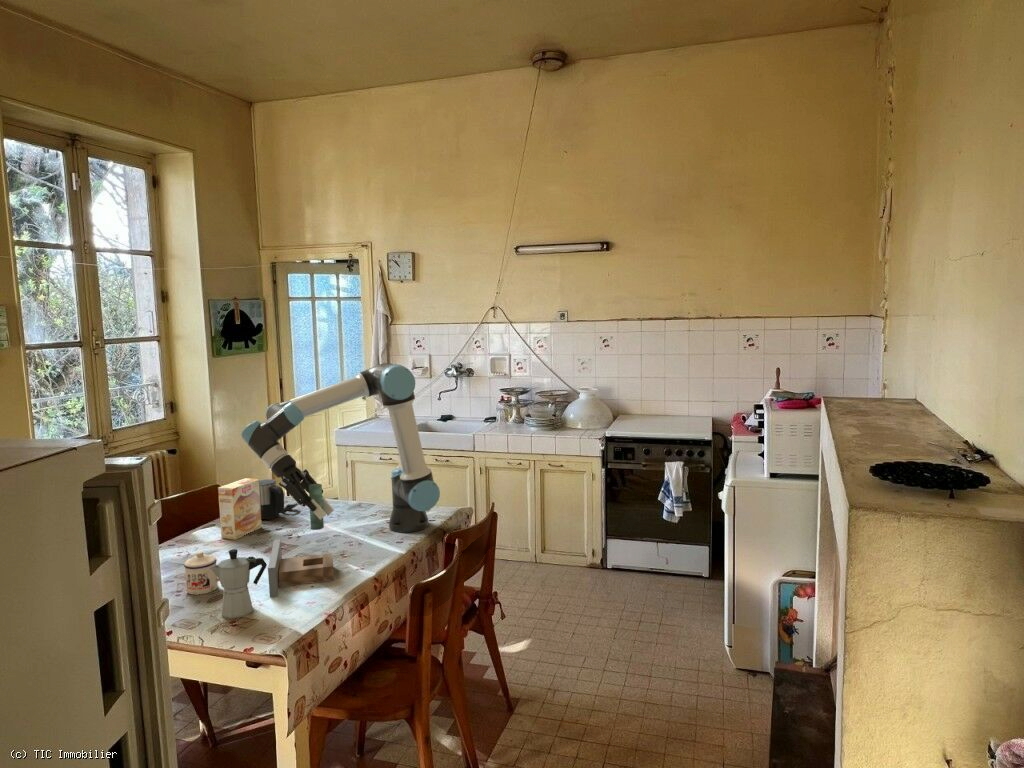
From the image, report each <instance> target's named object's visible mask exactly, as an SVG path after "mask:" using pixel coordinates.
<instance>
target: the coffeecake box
mask: <svg viewBox="0 0 1024 768" xmlns="http://www.w3.org/2000/svg"><path fill="white" fill-rule="evenodd" d="M259 480H260V479H259V478H249V477H248V478H246V477H245V478H242V479H239V480H236V481H234V482H231V483H228V484H224V485H222V486H218V487H217V491H218V492H217V493H218V505H219V506H218V507H219V520H220V521H219V523H220V535H221V539H228V540H234V541H235V540H238V539H240V538H242V537H245V536H247V535H248V533H249V534H251V533H252V532H255V531H258V530H259V529H261V527H263V525H262V520H261V508H260V492H259ZM254 530H255V531H254ZM250 532H251V533H250ZM246 534H247V535H246ZM244 535H245V536H244Z"/></svg>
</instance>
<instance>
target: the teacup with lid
mask: <svg viewBox="0 0 1024 768" xmlns="http://www.w3.org/2000/svg"><path fill="white" fill-rule="evenodd" d="M217 562H218V560H217V558H216V556H214V555H210V554H205V553H204V552H203V551H198V552H197V551H196V553H195V555H194V556H193V557H190V558H188V559H187V560H186V561H185V562H184V564H183V567H184V571H185V572H184V573H185V584H186V592H187V593H188V595H193V594H194V595H196V596H197V595H199V594H200V595H205V594H208V593H212V592H213V590H214V591H215V590H216V589H218V587H219V583H218V582H220V580H219V578H218V577H217V576H216V574H215V573H214V572H213V571H212V570H211V569H209V568H211V567H213V566H216V565H217ZM194 595H193V596H194Z"/></svg>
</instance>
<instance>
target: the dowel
mask: <svg viewBox="0 0 1024 768" xmlns="http://www.w3.org/2000/svg"><path fill="white" fill-rule="evenodd" d="M322 490H323V484H322V483H317V484H311V485H309V493H308V496H309V497H310V499H311V500H312V499H314V500H315V502H316V503H317V504H318V505H319V506H320V507H321V508H322V509H323V500H322V496H323V494H322ZM309 514H310V515H309V516H310V520H309V521H310V530H313V531H317V530H318V531H319V530H322V529H324V527H325V524H324V523H325V522H324V517H323V518H322V519H321V520H320V519H319V518H318V517H317V516H316V515H315V514H314V512H313V511H311V510H310V509H309Z"/></svg>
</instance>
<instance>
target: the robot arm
mask: <svg viewBox="0 0 1024 768" xmlns="http://www.w3.org/2000/svg"><path fill="white" fill-rule="evenodd" d="M415 388H416V378H415V375H414V374H413V372H412V371H411V370H410V369H409V368H407V367H405V366H404V365H401V364H394V363H390V362H383V363H380V364H376V365H375V366H373V367H370V368H367V369H366V370H363V371H360V372H358V373H357V374H356V376H354V377H351V378H348V379H346V380H343V381H340V382H337V383H333V384H332V385H328V386H326V387H323V388H320V389H316V390H314V391H311V392H309V393H305V394H303V395H300V396H297V397H294V398H291V399H289V400H286V401H283V402H275V403H272V404H270V405H269V406H268V407H267V408H266V411H265V418H266V420H264V422H260V421H259V420H254V421H252V422H250V423H249V424H248V425H246V426H245V427H244V428H243V430H242V431H241V434H240V435H241V438H242V440H243V441H245V443H246V444H247V445H248V447H249V448H250V449H251V450H252V451H253V452H254V454H255V455H256V456H258V458H259V459H260V460H261V462H263V463H264V464H265V466H266V467H267V468H268V469H270V471H271V472H272V473H273V474H274V476H275V477H276V478H277V479H278V478H280V479H281V481H279V483H278V486H280V487H281V488H282V489H284V490H285V491H286V492H287V493H288V494H289V495H290V496H291V498H293V499H294V500H295V501H296V503H297V505H299V506H302V507H308V509H309V511H310V510H311V511H313V512H314V514H315V515H316V516H317V517H318V518H319V519H320V520H321V519H322V518H323V519H324V517H325V516H330V515H331V514H332V513H333V511H334V510H335V509H334V507H333V506H332V505H331V504H330V503H329V502H328V501H327V500H326V498H325V497H324V496H323V494H324V490H323V489H322V500H323V509H322V508H321V507H320V506H319V505H318V504H317V503H316V502H315V500H314V499H312V500H311V499H310V497H309V485H311V484H318V483H317V481H316V480H315V479H314V478H313V477H312V476H311V474H310V472H309V471H308V469H306V468H305V469H304V470H301V469H299V468H298V467H297V462H296V460H295V459H294V458H293V457H292V455H290V454H289V452H288V451H286V449H285V448H284V447H283V445H281V443H280V442H279V440H280V439H282V438H283V437H284V436H286V435H287V434H288V433H290V432H291V431H292V430H293V429H294V428H296V427H297V426H299V425H300V423H302V422H303V421H304V420H305V418H306V417H309V416H312V415H315V414H317V413H319V412H323V411H326V410H328V409H331V408H334V407H336V406H340V405H343V404H346V403H347V402H351V401H353V400H356V399H359V398H361V397H365V398H370V397H374V396H378V395H380V398H381V403H382V406H383V407H384V408H386V409H387V410H388V414H389V418H390V422H391V423H390V424H391V426H392V431H393V436H394V439H395V444H396V449H397V452H398V457H399V461H400V466H401V467H398V468H395V469H393V470H392V471H391V477H390V479H391V493H392V494H391V495H392V509H391V510H392V511H391V514H390V516H389V521H388V527H389V529H390V531H393V532H397V533H412V532H413V531H414V532H419V531H422V530H425V529H427V528H428V527H429V526H428V525H430V524H429V523H430V522H429V517H428V515H427V511H430V510H431V509H433V508H434V507H436V505H437V504H438V502H439V500H440V496H441V490H440V487H439V486H438V484H437V483H436V482H435V480H434V477H433V472H432V469H431V467H428V466H427V464H426V459H425V457H424V451H423V447H422V442H421V439H420V434H419V433H420V432H419V428H418V424H417V420H416V415H415V411H414V408H413V407H414V406H413V402H414V401H415V400H416V397H415V391H414V390H415ZM426 527H427V528H426ZM424 528H425V529H424ZM418 530H419V531H418Z"/></svg>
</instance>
